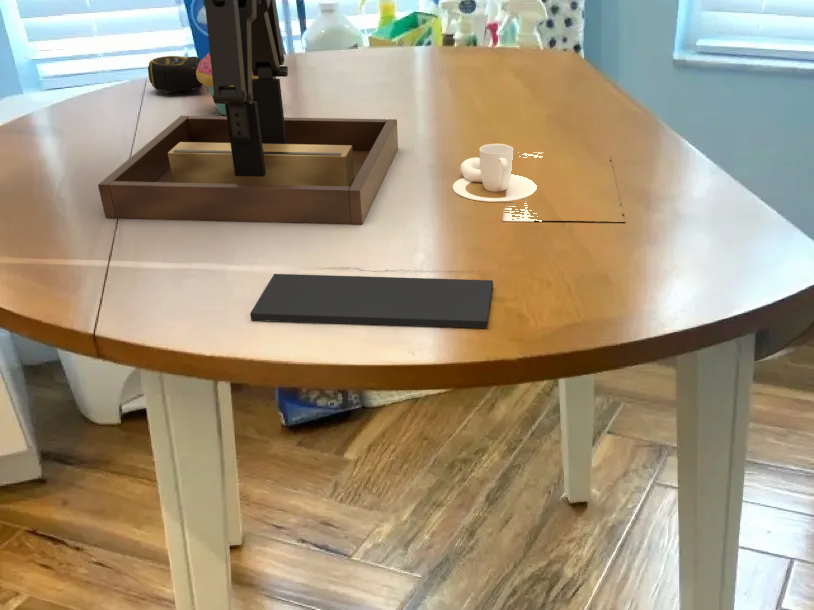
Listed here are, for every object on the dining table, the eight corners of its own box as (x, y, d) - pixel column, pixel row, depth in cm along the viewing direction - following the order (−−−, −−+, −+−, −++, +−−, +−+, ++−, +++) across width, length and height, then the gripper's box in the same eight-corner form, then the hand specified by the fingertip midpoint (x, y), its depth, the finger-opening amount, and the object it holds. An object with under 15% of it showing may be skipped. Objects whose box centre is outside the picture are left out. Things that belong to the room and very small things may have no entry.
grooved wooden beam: (173, 184, 92) (167, 152, 90) (184, 172, 95) (179, 141, 93) (347, 188, 91) (345, 155, 89) (354, 176, 94) (352, 144, 92)
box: (106, 223, 85) (97, 184, 83) (186, 148, 103) (180, 115, 101) (362, 230, 83) (360, 190, 81) (398, 153, 101) (397, 119, 99)
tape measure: (205, 95, 121) (200, 64, 119) (149, 98, 120) (143, 67, 118) (207, 83, 127) (202, 53, 125) (153, 85, 126) (148, 55, 124)
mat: (250, 320, 69) (249, 313, 68) (274, 280, 75) (273, 273, 74) (487, 328, 68) (487, 320, 67) (493, 287, 73) (493, 279, 73)
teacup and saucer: (455, 175, 95) (455, 133, 93) (536, 176, 95) (537, 134, 92) (449, 206, 88) (449, 161, 85) (537, 207, 87) (538, 162, 85)
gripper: (237, -107, 70) (274, 198, 83) (300, -126, 87) (322, 131, 100) (137, -107, 71) (189, 196, 84) (219, -126, 87) (252, 130, 100)
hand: (262, 160), depth 92 cm, fingers open, 8 cm apart
